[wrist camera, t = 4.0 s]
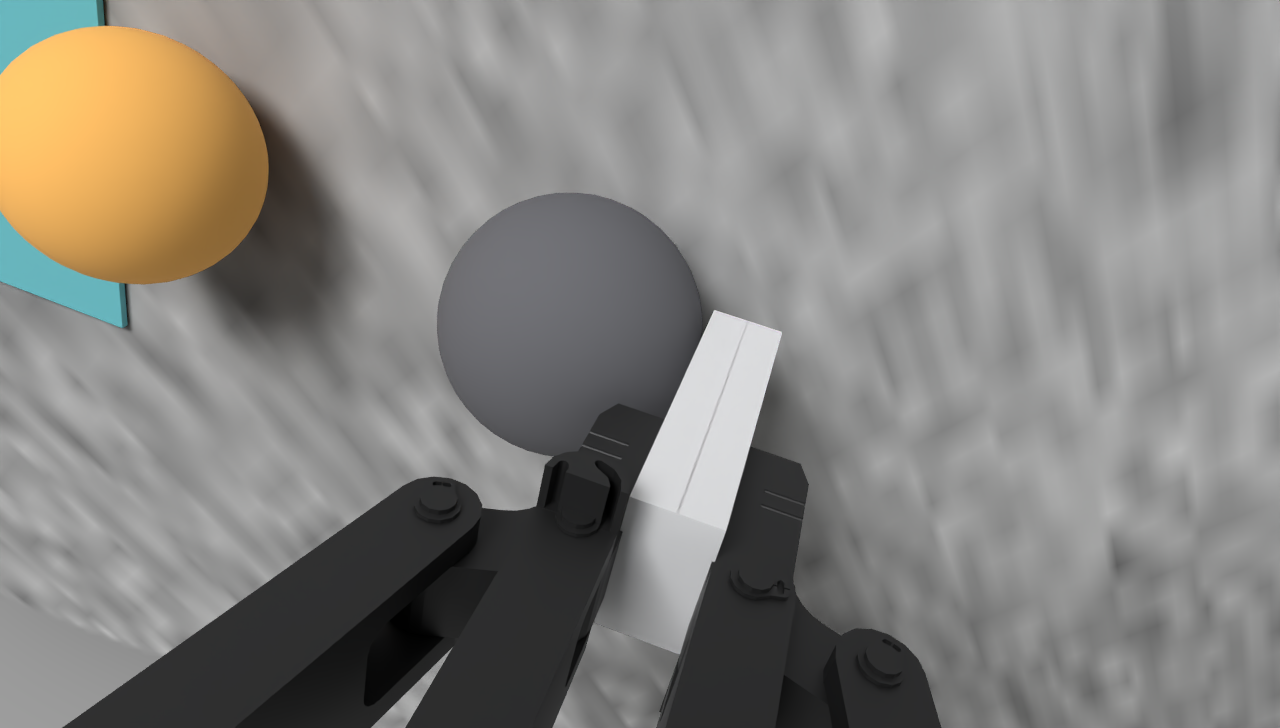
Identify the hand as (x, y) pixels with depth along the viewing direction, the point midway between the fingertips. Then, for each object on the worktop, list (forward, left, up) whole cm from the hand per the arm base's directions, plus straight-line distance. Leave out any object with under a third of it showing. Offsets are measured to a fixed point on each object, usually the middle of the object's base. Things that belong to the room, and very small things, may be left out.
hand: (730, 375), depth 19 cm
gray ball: (+3, 0, +1) cm, 4 cm away
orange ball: (+14, 0, +1) cm, 14 cm away
